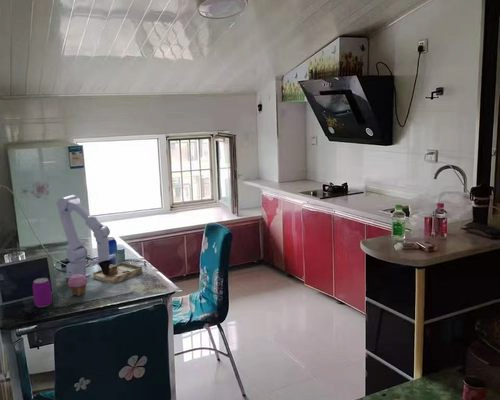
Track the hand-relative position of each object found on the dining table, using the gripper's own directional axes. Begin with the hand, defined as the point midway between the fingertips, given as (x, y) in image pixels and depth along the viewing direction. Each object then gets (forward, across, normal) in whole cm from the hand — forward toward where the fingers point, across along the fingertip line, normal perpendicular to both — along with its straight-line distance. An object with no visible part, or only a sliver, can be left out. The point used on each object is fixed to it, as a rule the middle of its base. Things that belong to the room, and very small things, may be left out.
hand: (105, 274), depth 263 cm
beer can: (+3, +17, +17) cm, 24 cm away
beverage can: (+3, -37, -2) cm, 37 cm away
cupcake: (+3, -20, -5) cm, 21 cm away
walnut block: (+1, +4, 0) cm, 4 cm away
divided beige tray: (+3, +8, 0) cm, 8 cm away
